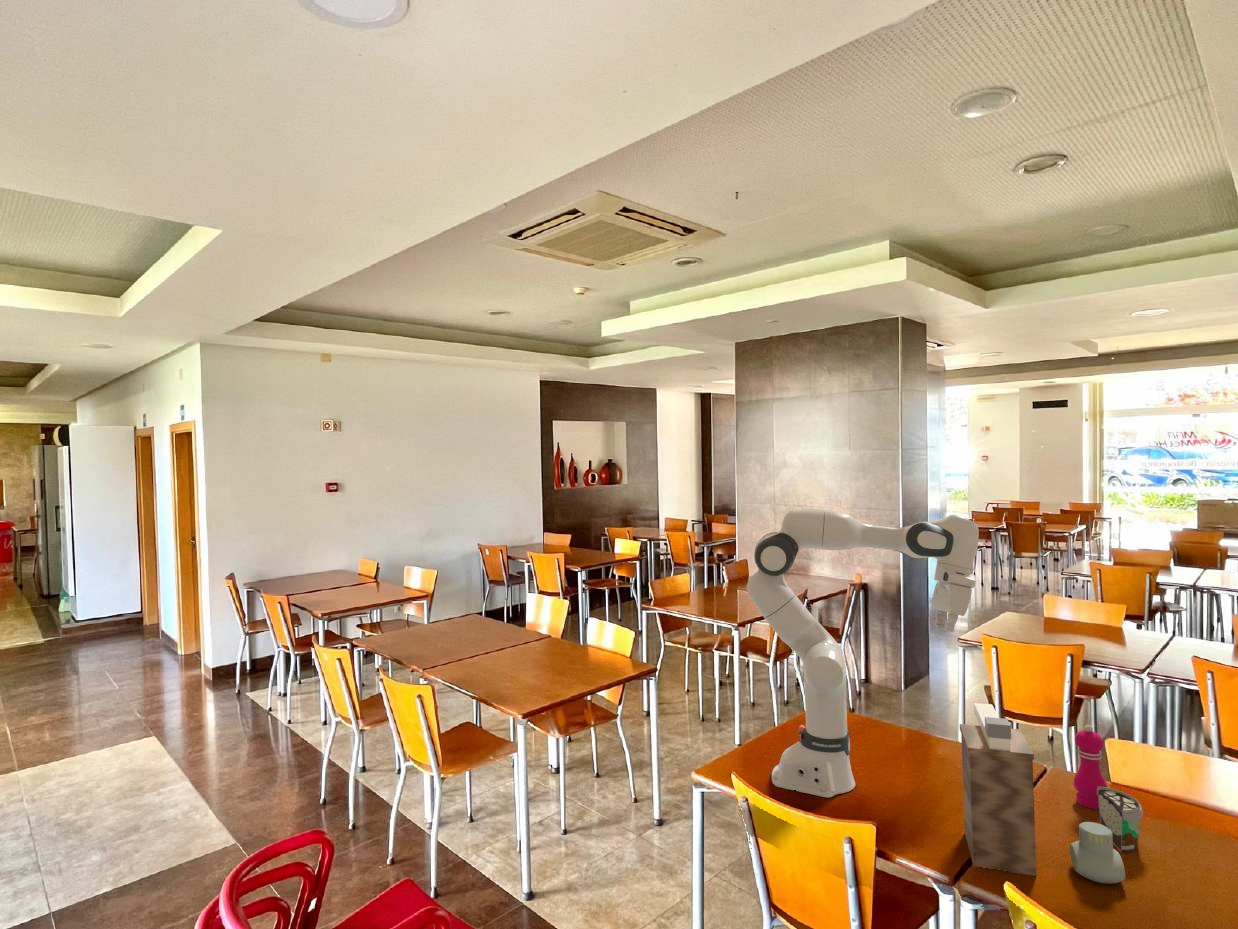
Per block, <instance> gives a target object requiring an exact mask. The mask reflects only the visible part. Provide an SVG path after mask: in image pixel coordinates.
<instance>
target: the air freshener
mask: <svg viewBox="0 0 1238 929" xmlns="http://www.w3.org/2000/svg"><path fill="white" fill-rule="evenodd" d="M1069 853H1070V854H1069V855H1070V861H1071V863H1072V866H1073V869H1074V871H1075V872H1076V873H1077V874H1079V875H1081V876H1082V877H1084V879H1085V878H1086V879H1088V880H1089V881H1092V882H1095V883H1098V884H1099V883H1101V884H1107V885H1108V884H1111V885H1112V884H1117V883H1120V882H1122V881H1125V879H1126V870H1125V865H1124V862H1123V859H1122V856H1121V855H1120V853H1119V852H1118V851H1117V850H1116V849H1115V848H1114V844H1113V836H1112V832H1111V830H1110V829H1109V828H1107V827H1106V826H1104V825H1101V824H1100V823H1097V822H1093V821H1083V822H1081V823H1079V825H1078V840H1075V841H1073V842H1071V843H1070V845H1069Z"/></svg>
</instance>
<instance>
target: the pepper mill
mask: <svg viewBox="0 0 1238 929" xmlns="http://www.w3.org/2000/svg"><path fill="white" fill-rule="evenodd" d="M1093 730H1094V728H1093V725H1090V724H1086V725H1085V726H1084V729H1083V730H1080V731H1078V732H1077V733H1076V734H1075V737H1074V742H1075V744H1076V745H1077V747H1078V748H1077V755H1078V756H1079V757H1080V763H1079V764H1080V765H1079V767H1078V770H1077V771H1076V773H1075V776H1074V778H1073V786H1074V789H1075V790H1076V791H1077V792H1076V794H1075V795H1076V796H1075V797H1076V802H1077V803H1078V804H1079V805H1080V806H1082V805H1083V807H1085V808H1088V809H1091V808H1094V809H1093V810H1099V800H1098V794H1097V789H1098V787H1106V788H1109V787H1108V784H1107V781H1106V779H1105V777H1104V775H1103V773H1102V771H1101V768H1100V761H1101V759H1102V752H1101V751H1102V750H1103V748H1104V744H1105V743H1104V739H1103V738H1102V737H1101V735H1100V734H1099V733H1098V732H1095V731H1093Z"/></svg>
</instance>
